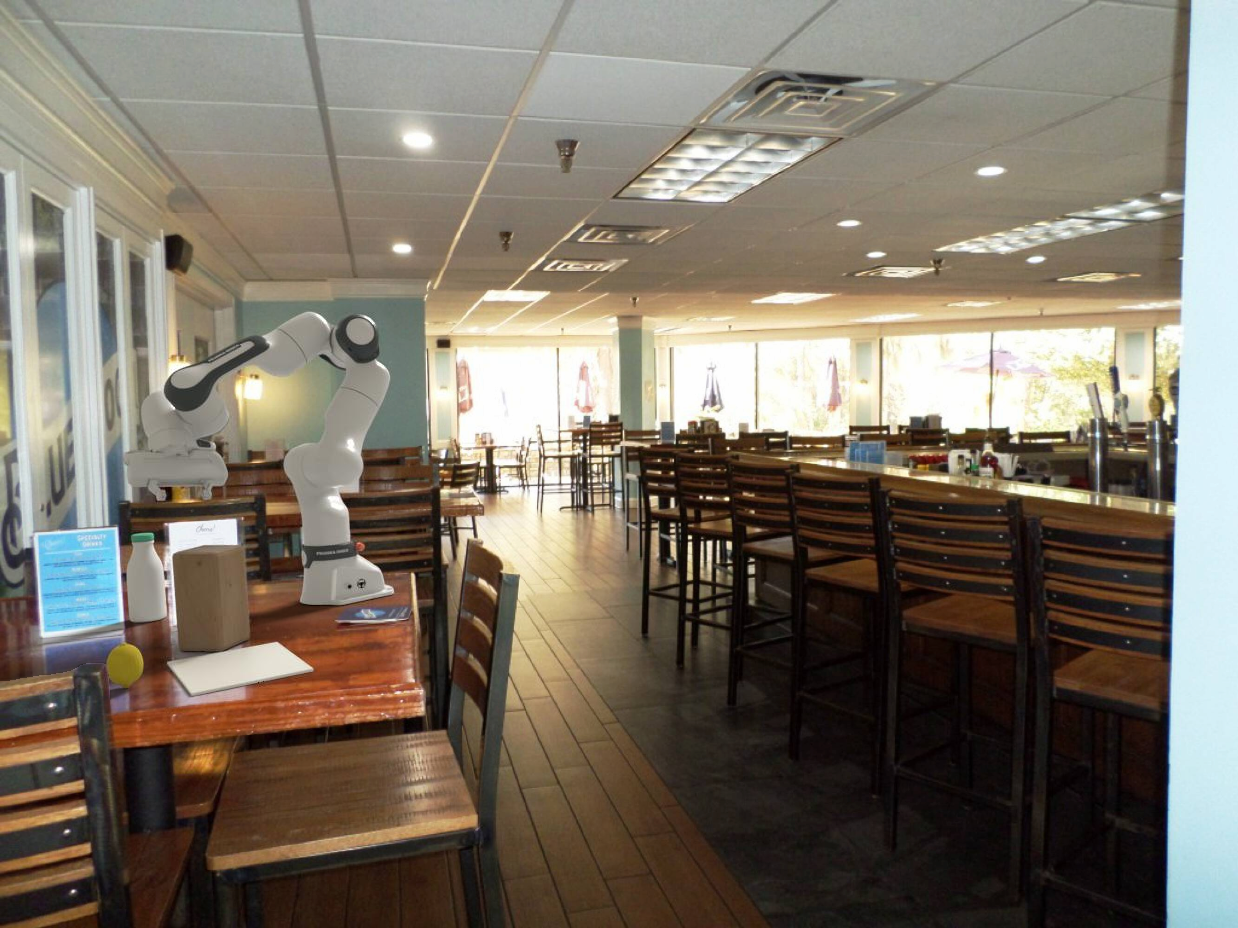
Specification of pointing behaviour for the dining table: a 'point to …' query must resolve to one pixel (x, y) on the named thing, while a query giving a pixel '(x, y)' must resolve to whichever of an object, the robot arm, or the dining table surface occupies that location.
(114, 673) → the lemon
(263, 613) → the dining table surface
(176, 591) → the wooden block
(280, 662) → the board
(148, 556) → the milk bottle
